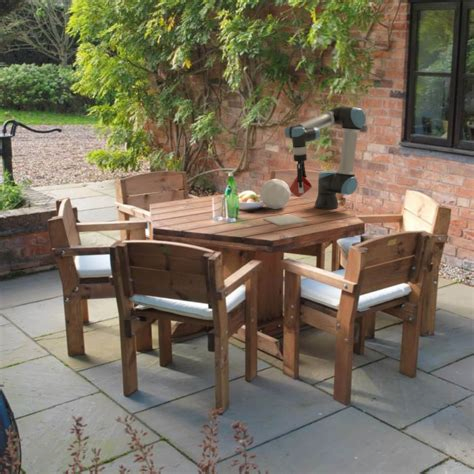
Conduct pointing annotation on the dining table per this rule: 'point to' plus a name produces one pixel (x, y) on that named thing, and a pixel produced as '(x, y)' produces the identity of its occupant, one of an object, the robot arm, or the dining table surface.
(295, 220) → the stone tile
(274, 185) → the geometric orb
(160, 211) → the dining table surface
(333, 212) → the dining table surface
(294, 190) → the flower pot
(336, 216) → the dining table surface
